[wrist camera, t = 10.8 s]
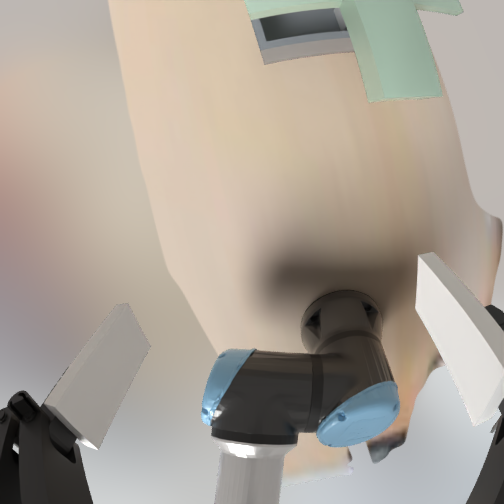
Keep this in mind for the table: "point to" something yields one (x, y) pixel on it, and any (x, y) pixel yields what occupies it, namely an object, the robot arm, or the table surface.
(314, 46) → the tub
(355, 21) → the lid
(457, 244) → the table surface
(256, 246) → the table surface
